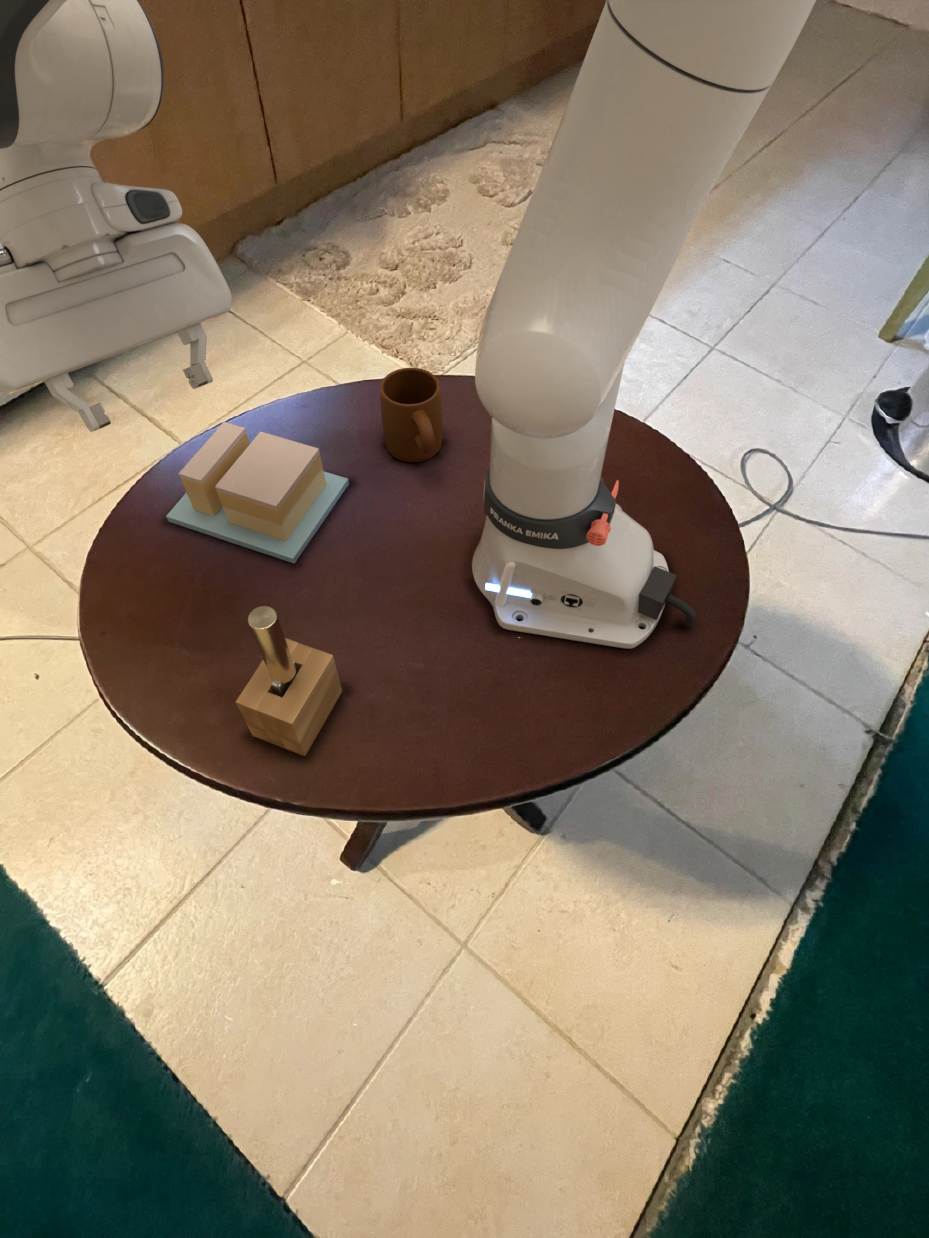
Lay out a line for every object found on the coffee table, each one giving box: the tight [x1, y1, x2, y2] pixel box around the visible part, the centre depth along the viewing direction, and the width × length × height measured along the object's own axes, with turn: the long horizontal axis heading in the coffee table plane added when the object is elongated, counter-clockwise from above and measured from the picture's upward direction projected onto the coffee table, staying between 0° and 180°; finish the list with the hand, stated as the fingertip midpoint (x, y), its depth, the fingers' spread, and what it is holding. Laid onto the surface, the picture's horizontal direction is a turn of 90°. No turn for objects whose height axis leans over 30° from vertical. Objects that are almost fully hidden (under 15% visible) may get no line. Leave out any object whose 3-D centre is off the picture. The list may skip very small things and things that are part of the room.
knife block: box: [235, 637, 343, 757], centre depth 75 cm, size 6×8×7 cm
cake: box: [165, 431, 350, 564], centre depth 92 cm, size 18×14×7 cm
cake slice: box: [178, 421, 251, 516], centre depth 92 cm, size 3×10×6 cm, turn 158°
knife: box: [247, 605, 298, 698], centre depth 71 cm, size 2×3×17 cm
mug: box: [379, 367, 443, 463], centre depth 96 cm, size 12×8×9 cm, turn 18°
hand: (153, 406), depth 64 cm, fingers open, 8 cm apart
